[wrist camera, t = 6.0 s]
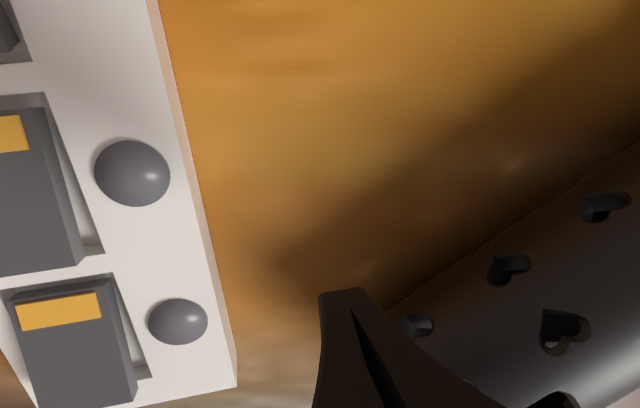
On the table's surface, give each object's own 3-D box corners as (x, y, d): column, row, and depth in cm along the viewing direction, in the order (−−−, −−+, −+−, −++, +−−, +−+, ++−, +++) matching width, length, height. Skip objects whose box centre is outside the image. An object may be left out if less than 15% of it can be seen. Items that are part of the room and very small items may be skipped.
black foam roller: (334, 285, 24) (394, 456, 15) (773, -20, 21) (1189, -30, 12) (407, 361, 29) (487, 528, 20) (778, 122, 25) (1081, 194, 16)
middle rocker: (86, 256, 17) (74, 267, 15) (-21, 272, 16) (-41, 285, 15) (44, 106, 15) (27, 107, 14) (-77, 119, 14) (-105, 121, 13)
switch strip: (236, 352, 25) (236, 389, 23) (64, 385, 24) (46, 429, 21) (96, -271, 12) (64, -334, 10) (-295, -279, 11) (-438, -353, 9)
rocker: (138, 388, 20) (131, 404, 19) (52, 405, 20) (40, 422, 19) (111, 277, 19) (102, 287, 18) (18, 292, 18) (3, 303, 17)
